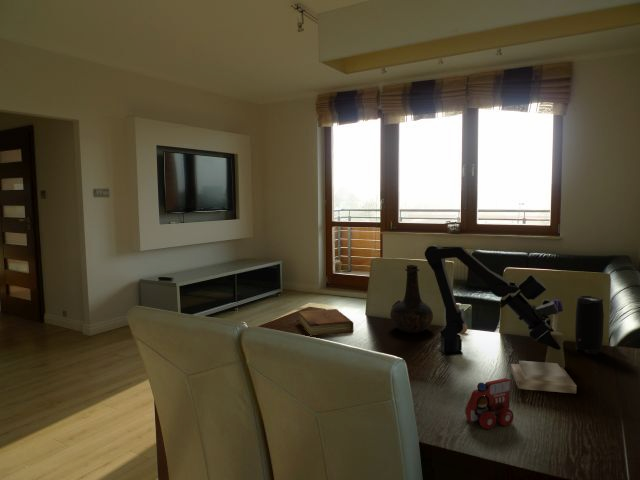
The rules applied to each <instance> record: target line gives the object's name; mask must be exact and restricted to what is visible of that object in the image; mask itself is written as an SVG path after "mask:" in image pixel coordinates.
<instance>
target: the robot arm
mask: <svg viewBox="0 0 640 480" xmlns="http://www.w3.org/2000/svg"><path fill="white" fill-rule="evenodd" d="M424 258H425V259H426V261H427V263H428V265H429V266H430V268H431V269H432V271H433V273H434V277H435V279H436V283H437V286H438V289H439V292H440V295H441V298H442V302H443V305H444V308H445V322H446V323H445V325H444V326H443V327H442V329H441V330H440V332H439V333H440V347H438V350H439V351H440V352H441V353H443V354H444V355H445V356H448V355H450V356H451V355H462V354H463V351H462V350H463V347H462V345H463V343H462V341H463V340H462V338H461V335H460V333H461V331H462V330H463V328H464V327H465V325H467V320H468V317H467V316H466V313H465V312H466V311H465V309H464V308H461V309H460V307H458V306H457V305H458V304H457V301H456V297H455V295H454V291H453V287H452V285H451V282H450V279H449V275H448V273H447V268H446V259H454V258H456V259H458V260H459V261H460V262H461V263H462V264H464V265H465V266H466V267H467V268H468V269H469V270H471V272H473V274H474V273H475V275H476V276H478V277H479V278H480V279H481V280H482V281H483V282H484V283H485V285H486V286H487V288H488V289H489V290H490V291H491V293H493V295H494V296H495V297H496V298H497V297H498V298H500V299H499V302H500V308H501V309H502V308H504V307H505V306H507V307H508V308H509V309H510V310H511V311H512V312H513V313H514V314H515V315H516V316H517V318H518V319H519V321H522V322H523V323H524V324H525V325H526V326H527V329H528V330H529V337H530V338H531V340H533V341H534V342H535V341H536V342H538V343H541V344H543V345H546V346H547V347H548V346H550V347H552V348H555V349H557V350H560V349H561V347H560V346H559V344H558V343H557V342H556V340H555V339H554V337H553V336H552V335H551V332H555V331H554V330H553V328H552V327H553V326H552V324H551V321H552V320H551V319H552V318H551V317H550V316H551V315H552V316H553V314H557V313H558V314H559V312H558V309H557V307H556V305H555V303H554V302H553V301H552V300H551V301H550V299H543V300H542V304H540V305H538V306H536V305H535V304H531V303H530V302H529V301H528V300H530V301H531V300H533V301H535V300H536V299H537V298H539V296H541V295H542V294H543V293H544V292H546V291H547V290H548V288H547V286H545V284H544V283H543V282H542V281H541V280H540V279H538V278H537V277H536V276H534V275H533V274H531V273H530V274H529V275H528V276H527V277H526V278H525V279H524V280H523V281H522V282H521V283H516V282H513V281H512V282H511V281H509V280H508V279H507V278H505V277H503V276H502V275H500V274H498V273H496V272H494V271H493V270H490V268H488V267H487V266H485V265H484V264H483V263H482V262H481V261H480V260H478V258H476V257H475V256H473V254H471V253H470V252H469V251H468V250H466V248H465V247H464V246H462V245H455V246H442V245H439V244H433V245H431V246H428V247H427V248H425V251H424Z"/></svg>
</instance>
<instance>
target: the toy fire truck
mask: <svg viewBox="0 0 640 480" xmlns="http://www.w3.org/2000/svg"><path fill="white" fill-rule="evenodd" d="M476 388H477V389H473V391H472V392H471V395H470V397H469V400H468V402H467V404H466V407H465V410H464V412H465V416H466V419H467V420H468V421H469V422H471V423H474V422H479V426H481V427H482V428H483V429H485V430H491V429H493V428H494V427H495V425H496V424H497V423H496V422H498V423H499V424H500V425H501V426H504V427H507V426H510V425H511V424H512V423H513V421H514V417H515V415H514V413H513V411H512V410H511V409H510V402H511V401H510V398H511V395H510V394H511V390H512V380H511V379H509V378H507V377H505V378H499V379H494V380H491V381H486V382H485V383H484V382H478V383H477V385H476Z"/></svg>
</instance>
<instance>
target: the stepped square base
mask: <svg viewBox="0 0 640 480" xmlns="http://www.w3.org/2000/svg"><path fill="white" fill-rule="evenodd" d="M510 371H511V374H512V376H513V379H514V381H515V384H516V387H517V389H518V390H527V391H529V390H530V391H542V392H543V391H544V392H552V393H553V392H554V393H555V392H557V393H567V394H577V384H576V383H575V382H574V380H573V379H572V378H571V376H570V375H569V374H568V373H567V371H566V370H565V368H563V367H560V366H559V365H558V364H557V363H546V362H545V361H544V362H543V361H529V360H518V363H511V364H510Z"/></svg>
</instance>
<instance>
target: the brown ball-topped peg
mask: <svg viewBox="0 0 640 480" xmlns="http://www.w3.org/2000/svg"><path fill="white" fill-rule="evenodd" d="M551 335H552V336H553V337H554V339H555V340H556V342H557V343H558V344H559V346H560V347H561V349H560V350H557V349H555V348H552V347H550V346H548V345H547V350H546V355H545V361H544V362H546V363H557V364H558V365H559V366H560V367H563V368H564V369H565V368H566V363H565V362H566V361H565V353H564V345H563V344H564V342H565V335H564V334H563V333H562V332H559V331H557V332H551Z"/></svg>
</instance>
